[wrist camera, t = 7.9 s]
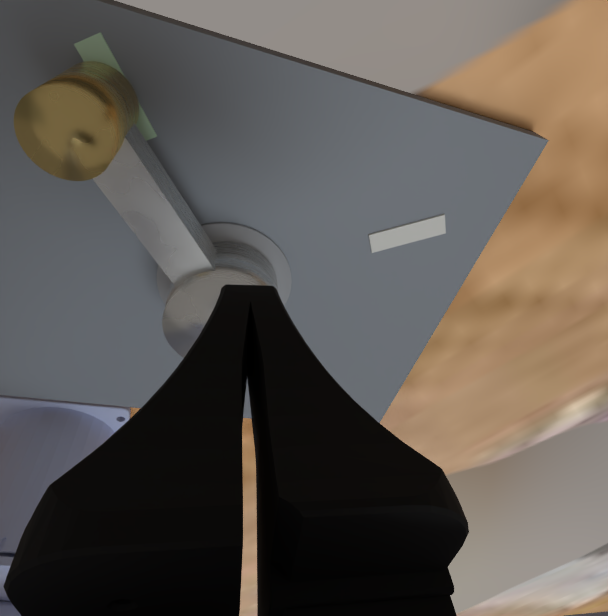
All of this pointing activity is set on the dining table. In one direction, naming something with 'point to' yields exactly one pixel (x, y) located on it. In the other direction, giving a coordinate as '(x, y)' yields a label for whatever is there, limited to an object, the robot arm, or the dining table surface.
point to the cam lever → (134, 189)
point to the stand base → (240, 205)
